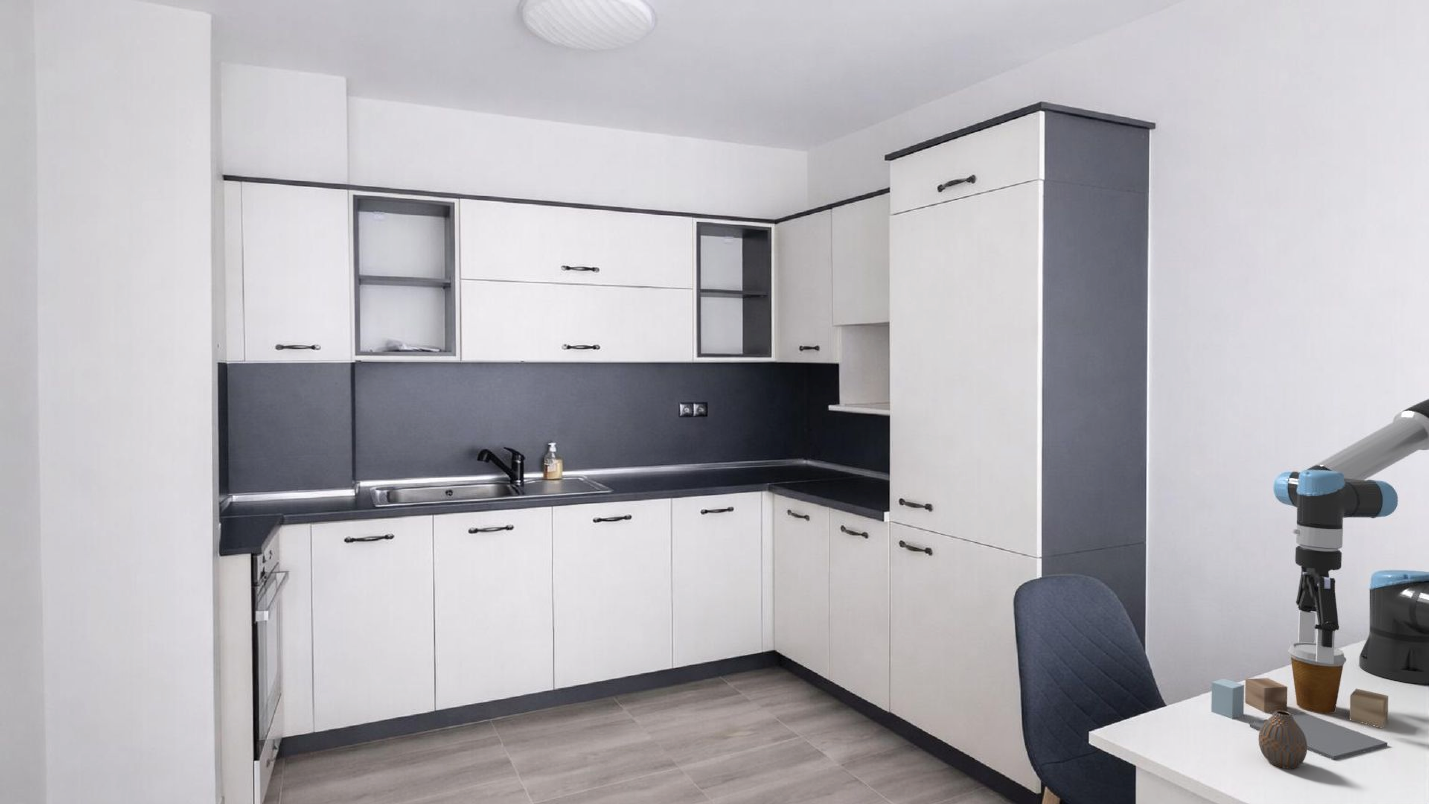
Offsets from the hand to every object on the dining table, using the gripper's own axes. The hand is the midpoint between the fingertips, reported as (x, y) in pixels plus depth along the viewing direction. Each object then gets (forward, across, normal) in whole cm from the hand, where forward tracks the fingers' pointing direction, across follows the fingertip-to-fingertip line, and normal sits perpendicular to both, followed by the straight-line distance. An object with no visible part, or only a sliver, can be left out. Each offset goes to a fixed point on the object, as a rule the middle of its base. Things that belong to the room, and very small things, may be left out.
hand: (1315, 652), depth 168 cm
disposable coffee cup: (+11, 0, 0) cm, 11 cm away
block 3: (+11, +3, +8) cm, 14 cm away
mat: (+11, +16, -3) cm, 20 cm away
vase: (+12, +32, -12) cm, 36 cm away
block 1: (+8, +11, -15) cm, 21 cm away
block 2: (+11, +3, -9) cm, 15 cm away
